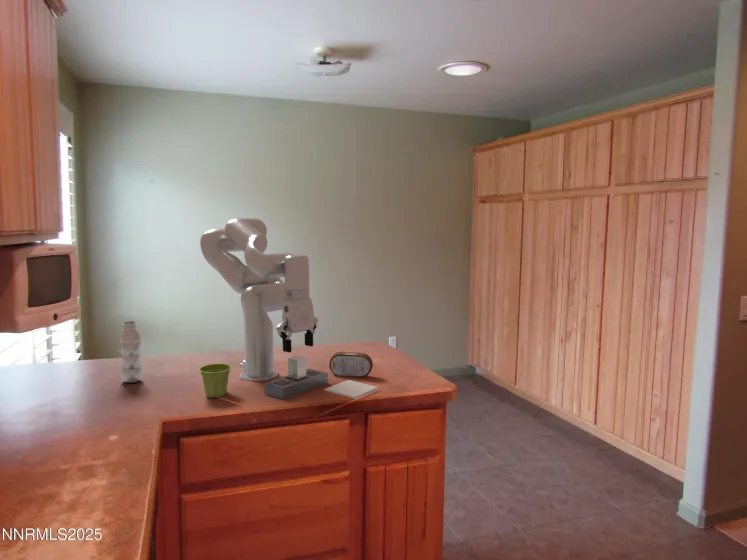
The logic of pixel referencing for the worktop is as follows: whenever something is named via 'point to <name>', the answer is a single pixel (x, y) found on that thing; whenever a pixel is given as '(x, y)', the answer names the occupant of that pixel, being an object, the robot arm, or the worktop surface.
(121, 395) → the worktop surface
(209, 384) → the plant pot
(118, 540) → the worktop surface
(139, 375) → the plastic bottle
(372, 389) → the pad
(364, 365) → the tin
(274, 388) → the grey compartment holder
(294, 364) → the steel block
